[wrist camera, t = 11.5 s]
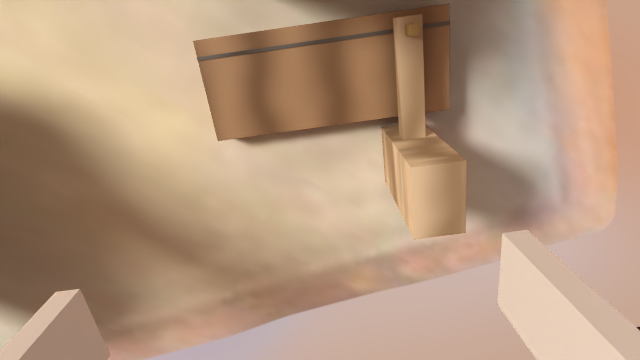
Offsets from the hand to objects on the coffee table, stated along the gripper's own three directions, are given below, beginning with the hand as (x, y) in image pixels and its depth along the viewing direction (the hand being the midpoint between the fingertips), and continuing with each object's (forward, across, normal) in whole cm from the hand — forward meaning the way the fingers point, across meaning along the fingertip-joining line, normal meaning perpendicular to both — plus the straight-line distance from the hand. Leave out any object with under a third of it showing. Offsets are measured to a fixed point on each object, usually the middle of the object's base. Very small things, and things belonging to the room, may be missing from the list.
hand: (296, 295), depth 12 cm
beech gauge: (+27, +10, 0) cm, 29 cm away
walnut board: (+27, +3, +4) cm, 28 cm away
